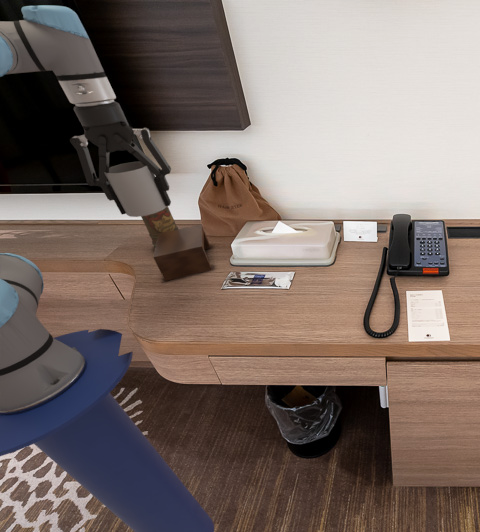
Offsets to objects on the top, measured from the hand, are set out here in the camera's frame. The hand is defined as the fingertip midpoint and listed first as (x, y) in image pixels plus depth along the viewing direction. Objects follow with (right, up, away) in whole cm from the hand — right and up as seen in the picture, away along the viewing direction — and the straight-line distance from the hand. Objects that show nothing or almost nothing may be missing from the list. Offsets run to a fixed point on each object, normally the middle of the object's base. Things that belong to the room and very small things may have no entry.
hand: (147, 207), depth 81 cm
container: (-17, -7, +33) cm, 38 cm away
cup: (0, 0, 0) cm, 1 cm away
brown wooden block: (-5, -13, +24) cm, 28 cm away
